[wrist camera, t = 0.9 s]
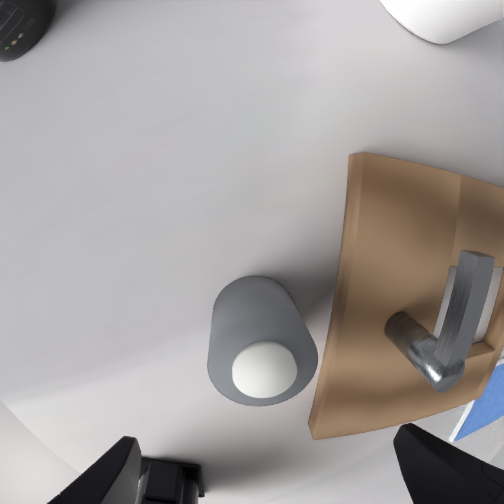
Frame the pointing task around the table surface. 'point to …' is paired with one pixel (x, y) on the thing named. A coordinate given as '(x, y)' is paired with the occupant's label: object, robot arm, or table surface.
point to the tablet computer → (483, 406)
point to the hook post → (446, 325)
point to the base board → (402, 292)
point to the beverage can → (444, 17)
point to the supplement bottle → (22, 25)
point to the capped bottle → (259, 344)
